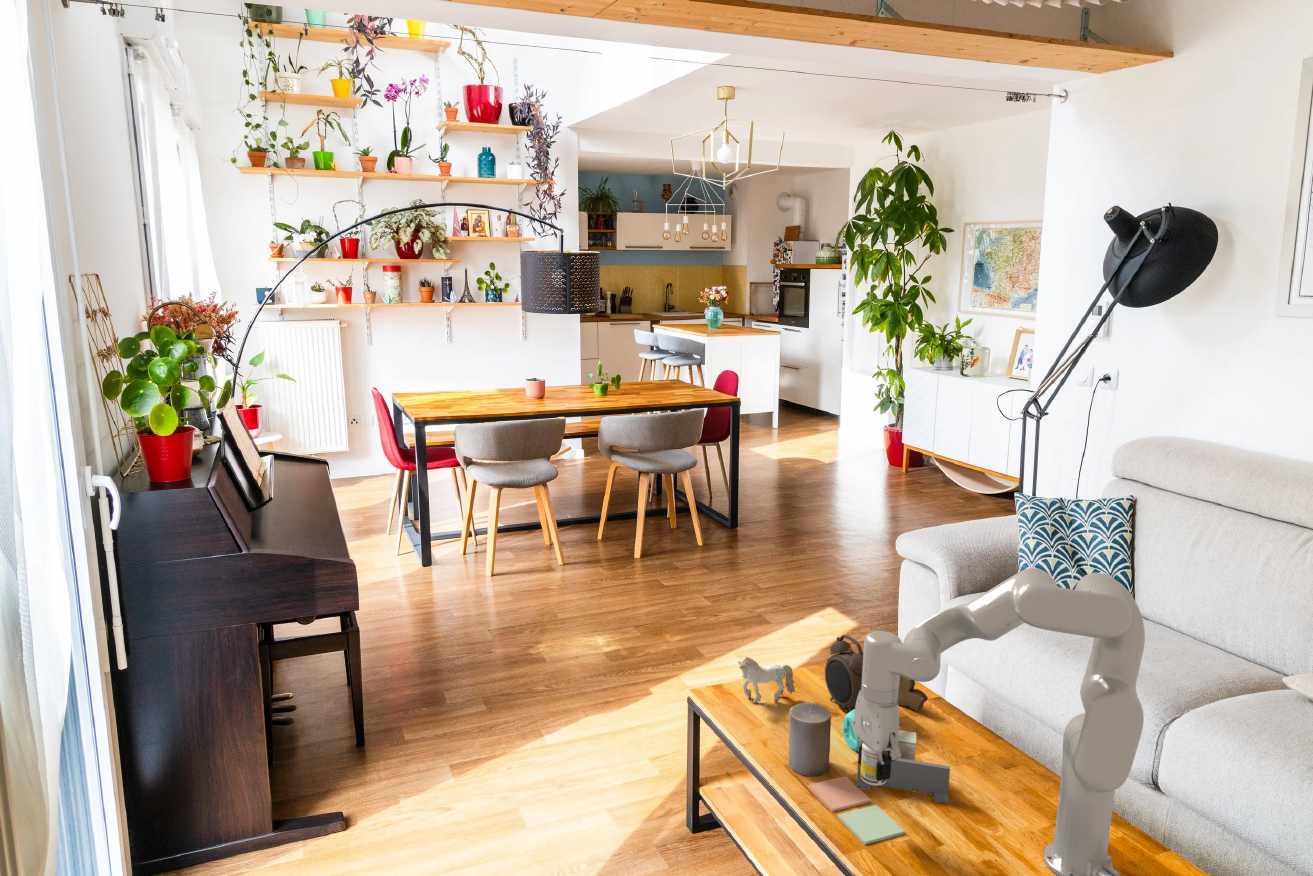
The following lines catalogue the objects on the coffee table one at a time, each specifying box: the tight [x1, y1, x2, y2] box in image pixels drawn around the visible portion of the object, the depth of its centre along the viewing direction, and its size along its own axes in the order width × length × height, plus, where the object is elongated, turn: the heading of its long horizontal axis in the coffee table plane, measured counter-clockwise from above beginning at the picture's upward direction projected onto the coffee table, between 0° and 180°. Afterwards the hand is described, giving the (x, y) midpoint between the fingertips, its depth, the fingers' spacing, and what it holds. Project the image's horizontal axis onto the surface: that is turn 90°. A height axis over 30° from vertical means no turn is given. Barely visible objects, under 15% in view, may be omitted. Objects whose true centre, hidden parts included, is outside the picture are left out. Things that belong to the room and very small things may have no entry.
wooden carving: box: [897, 676, 929, 712], centre depth 242 cm, size 16×5×10 cm, turn 43°
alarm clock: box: [824, 634, 864, 713], centre depth 238 cm, size 15×7×20 cm, turn 25°
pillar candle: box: [788, 702, 832, 777], centre depth 210 cm, size 10×10×15 cm
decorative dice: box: [842, 708, 860, 753], centre depth 220 cm, size 8×8×8 cm
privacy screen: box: [855, 758, 951, 804], centre depth 202 cm, size 20×6×7 cm, turn 74°
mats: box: [807, 775, 906, 845], centre depth 194 cm, size 22×10×1 cm, turn 22°
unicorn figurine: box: [737, 656, 796, 705], centre depth 241 cm, size 7×20×13 cm, turn 118°
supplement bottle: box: [860, 741, 887, 786], centre depth 186 cm, size 6×6×10 cm
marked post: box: [898, 729, 917, 761], centre depth 207 cm, size 5×5×10 cm
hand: (873, 770), depth 186 cm, fingers closed on supplement bottle, 5 cm apart
